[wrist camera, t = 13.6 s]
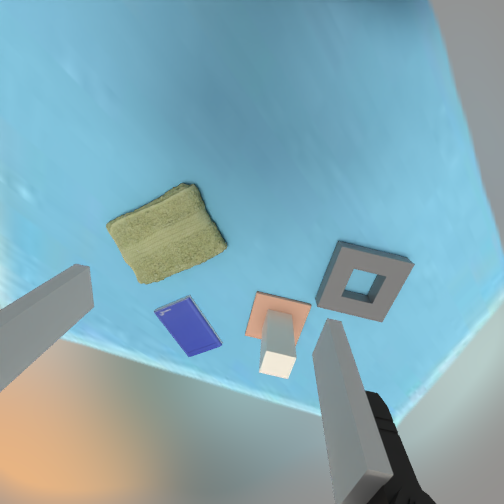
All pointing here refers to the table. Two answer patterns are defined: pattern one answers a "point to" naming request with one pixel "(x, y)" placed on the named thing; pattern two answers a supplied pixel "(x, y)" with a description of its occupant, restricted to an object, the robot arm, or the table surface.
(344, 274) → the gray square ring
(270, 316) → the plug
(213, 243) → the washcloth
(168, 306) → the hard drive
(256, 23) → the table surface
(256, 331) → the pad
